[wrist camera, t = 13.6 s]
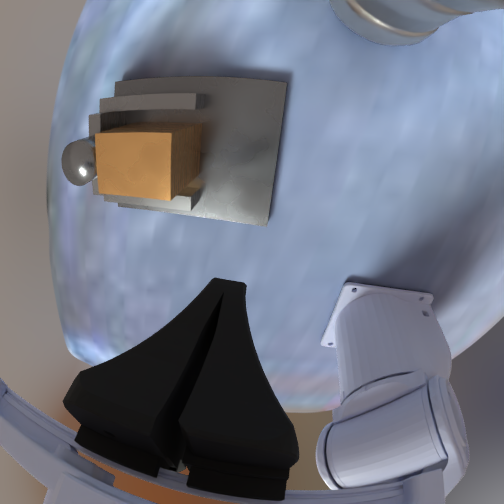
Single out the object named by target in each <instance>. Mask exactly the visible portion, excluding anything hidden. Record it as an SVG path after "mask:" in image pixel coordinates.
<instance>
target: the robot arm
mask: <svg viewBox="0 0 504 504" xmlns="http://www.w3.org/2000/svg"><path fill="white" fill-rule="evenodd" d="M246 287H247V285H246V284H245V283H243V282H237V281H231V280H225V279H220V278H213V279H212V280H211V281H210V282H209V283H208V285H207V286H206V287H205V288H204V289H203V290H202V291H201V293H200V294H199V295H198V296H197V297H196V298H195V299H194V300H193V301H192V302H191V303H190V304H189V305H188V306H187V307H186V308H185V309H184V310H183V311H182V312H180V313H179V314H178V315H177V316H176V317H175V318H174V319H173V320H171V321H170V322H169V323H168V324H167V325H165V326H164V327H163V328H162V329H160V330H159V331H158V332H156V333H155V334H153V335H152V336H151V337H149V338H148V339H146V340H144V341H143V342H141V343H140V344H138V345H137V346H135V347H133V348H132V349H130V350H128V351H126V352H124V353H122V354H120V355H118V356H116V357H114V358H113V359H111V360H108V361H106V362H104V363H101V364H99V365H96V366H94V367H91V368H89V369H86V370H83V371H81V372H80V373H79V374H78V375H77V377H76V378H75V380H74V381H73V383H72V385H71V387H70V388H69V390H68V392H67V394H66V396H65V398H64V400H63V403H64V406H65V408H66V409H67V410H68V411H69V412H70V413H71V414H72V415H73V417H75V418H76V420H77V421H78V422H80V424H81V426H80V429H79V431H78V433H77V432H75V431H73V430H71V429H70V428H68V427H66V426H64V425H63V424H61V423H59V422H57V421H56V420H54V419H53V418H51V417H49V416H48V415H46V414H45V413H43V412H42V411H40V410H39V409H37V408H35V407H34V406H33V405H31V404H30V403H28V402H27V401H26V400H24V399H23V398H21V397H20V396H19V395H17V394H16V393H15V392H13V391H12V390H11V389H10V388H8V387H7V385H6V384H5V382H4V381H3V380H2V379H1V378H0V445H1V447H2V448H3V449H4V450H5V451H6V452H7V453H8V454H9V455H10V456H11V457H12V458H13V459H15V460H16V461H17V462H18V463H19V464H20V465H21V466H22V467H23V468H24V469H25V470H26V471H28V472H29V473H30V474H31V475H32V476H33V477H35V478H36V479H37V480H38V481H39V482H41V483H42V484H43V485H44V486H46V487H47V488H48V491H47V494H46V496H45V499H44V502H43V504H157V503H154V502H151V501H148V500H146V499H143V498H140V497H137V496H135V495H132V494H130V493H127V492H125V491H122V490H120V489H117V488H115V487H114V486H113V482H114V479H115V476H114V475H113V474H111V473H109V472H107V471H105V470H103V469H102V468H100V467H98V466H97V465H96V464H94V463H92V462H90V461H88V460H86V459H85V458H83V457H81V456H80V455H78V452H77V450H78V451H80V452H81V453H83V454H85V455H87V456H89V457H91V458H93V459H95V460H97V461H99V462H101V463H104V464H106V465H108V466H110V467H112V468H115V469H117V470H119V471H122V472H124V473H127V474H129V475H132V476H134V477H137V478H139V479H142V480H145V481H148V482H151V483H154V484H157V485H160V486H163V487H167V488H170V489H173V490H177V491H180V492H184V493H188V494H192V495H197V496H201V497H205V498H210V499H216V500H221V501H227V502H234V503H240V504H445V497H446V496H447V495H448V494H449V493H450V491H451V490H452V489H453V488H454V487H455V486H456V485H457V484H458V482H459V481H460V480H461V478H462V477H463V476H464V474H465V472H466V469H467V465H468V463H469V446H468V442H467V437H466V430H465V425H464V421H463V416H462V413H461V409H460V406H459V403H458V401H457V398H456V395H455V393H454V391H453V388H452V387H451V384H450V383H449V381H448V379H449V376H450V372H451V352H450V348H449V345H448V343H447V341H446V338H445V336H444V334H443V331H442V329H441V327H440V325H439V323H438V320H437V318H436V316H435V314H434V312H433V310H432V308H431V306H430V304H431V303H432V301H433V299H434V297H433V295H432V294H430V293H423V292H416V291H408V290H401V289H394V288H387V287H380V286H373V285H366V284H359V283H352V282H347V283H345V284H344V285H343V287H342V290H341V293H340V295H339V298H338V300H337V303H336V305H335V308H334V310H333V313H332V315H331V318H330V320H329V323H328V325H327V327H326V330H325V332H324V334H323V337H322V339H321V345H322V346H326V347H336V352H337V362H338V373H339V386H340V400H341V406H339V407H338V408H335V409H333V422H331V423H329V424H328V425H326V426H325V427H324V428H323V430H322V431H321V434H320V436H319V439H318V443H317V447H316V463H317V467H318V471H319V473H320V475H321V477H322V479H323V480H324V482H325V483H326V484H327V485H328V486H329V487H330V489H331V490H315V491H302V490H286V481H287V480H288V478H289V470H290V467H292V466H293V465H294V464H295V463H296V462H297V461H298V459H299V447H298V441H297V437H296V433H295V430H294V426H293V424H292V422H291V421H290V419H289V418H288V416H287V415H286V413H285V412H284V410H283V408H282V407H281V405H280V403H279V401H278V400H277V398H276V396H275V394H274V392H273V390H272V388H271V386H270V384H269V382H268V380H267V378H266V376H265V373H264V371H263V369H262V366H261V364H260V361H259V358H258V356H257V353H256V350H255V346H254V343H253V340H252V336H251V332H250V327H249V323H248V317H247V311H246V299H245V295H246ZM353 288H356V289H355V290H352V289H353ZM420 297H421V298H420ZM330 342H331V343H330ZM186 466H187V468H188V470H189V471H190V472H189V476H188V475H184V474H180V473H178V472H181V471H183V470H185V469H186Z"/></svg>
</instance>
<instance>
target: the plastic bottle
mask: <svg viewBox="0 0 504 504" xmlns="http://www.w3.org/2000/svg"><path fill="white" fill-rule="evenodd" d="M329 1H330V4H331V7H332V9H333V11H334V12H335V14H336V16H337V17H338V18H339V19H340V21H341V22H342V23H343V24H344V25H345V26H347V27H348V28H349V29H350V30H351V31H353V32H354V33H356V34H357V35H359V36H361V37H363V38H365V39H367V40H369V41H372V42H374V43H378V44H382V45H389V46H406V45H413V44H417V43H420V42H421V41H423V40H424V39H426V38H427V37H429V36H430V35H432V34H433V33H434V32H435V31H436V30H437V29H438V28H439V27H440V26H442V25H444V24H446V23H448V22H450V21H451V20H453V19H455V18H457V17H459V16H462V15H467V14H472V13H475V12H483V11H489V10H496V9H504V0H329Z"/></svg>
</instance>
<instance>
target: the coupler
mask: <svg viewBox="0 0 504 504" xmlns="http://www.w3.org/2000/svg"><path fill="white" fill-rule="evenodd" d="M286 89H287V83H285V82H278V81H270V80H261V79H250V78H236V77H214V76H181V77H159V78H146V79H135V80H126V81H118V82H115V94H114V97H111V98H103V99H100V113H96V114H91V115H89V137H86V138H83V139H80V140H77V141H75V142H72V143H70V144H68V145H67V146H66V148H65V149H64V151H63V154H62V169H63V172H64V174H65V176H66V178H67V179H68V180H69V181H70V182H71V183H72V184H74V185H77V186H82V185H85V184H86V183H88V182H90V181H92V185H93V194H94V195H104V201H107V202H117V203H118V207H127V208H135V209H143V210H152V211H159V212H167V213H175V214H182V215H190V216H197V217H204V218H211V219H218V220H225V221H232V222H239V223H245V224H252V225H258V226H265V227H267V224H268V217H269V210H270V204H271V197H272V190H273V183H274V176H275V169H276V162H277V155H278V148H279V141H280V133H281V126H282V119H283V111H284V104H285V96H286ZM136 122H185V123H202V132H201V147H200V164H199V175H198V176H197V177H196V178H195V179H194V180H193V181H192V182H190V183H189V184H188V185H187V186H186V187H185V188H184V189H183V190H182V191H181V192H180V193H179V194H177V195H176V196H175V197H174V198H173V199H172V200H171V201H167V200H158V199H150V198H140V197H131V196H121V195H111V194H100V193H99V190H98V179H97V166H96V148H95V134H96V133H99V132H102V131H106V130H109V129H113V128H117V127H120V126H124V125H128V124H132V123H136Z"/></svg>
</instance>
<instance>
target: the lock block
mask: <svg viewBox="0 0 504 504" xmlns="http://www.w3.org/2000/svg"><path fill="white" fill-rule="evenodd" d="M201 132H202V123H185V122H136V123H132V124H128V125H124V126H120V127H117V128H113V129H109V130H106V131H102V132H99V133H96V134H95V148H96V166H97V179H98V190H99V193H100V194H111V195H121V196H131V197H140V198H150V199H158V200H167V201H171V200H172V199H173V198H174V197H175V196H176V195H177V194H179V193H180V192H181V191H182V190H183V189H184V188H185V187H186V186H187V185H188V184H189V183H190V182H192V181H193V180H194V179H195V178H196V177H197V176H198V175H199V164H200V147H201Z"/></svg>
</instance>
